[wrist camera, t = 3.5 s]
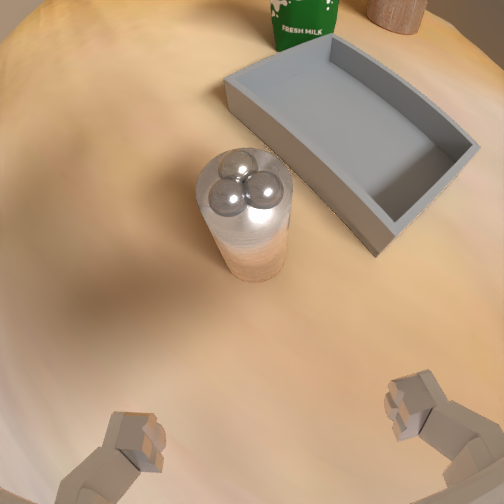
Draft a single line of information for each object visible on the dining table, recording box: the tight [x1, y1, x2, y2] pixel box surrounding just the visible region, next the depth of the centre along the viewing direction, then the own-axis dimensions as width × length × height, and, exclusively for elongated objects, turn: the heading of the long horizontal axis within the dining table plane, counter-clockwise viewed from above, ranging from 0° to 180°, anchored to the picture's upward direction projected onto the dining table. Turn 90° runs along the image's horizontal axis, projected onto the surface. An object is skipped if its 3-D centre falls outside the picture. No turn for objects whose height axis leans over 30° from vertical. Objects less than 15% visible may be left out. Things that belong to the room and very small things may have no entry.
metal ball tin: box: [195, 148, 293, 283], centre depth 21 cm, size 5×5×12 cm
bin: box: [223, 33, 481, 257], centre depth 28 cm, size 22×16×5 cm
